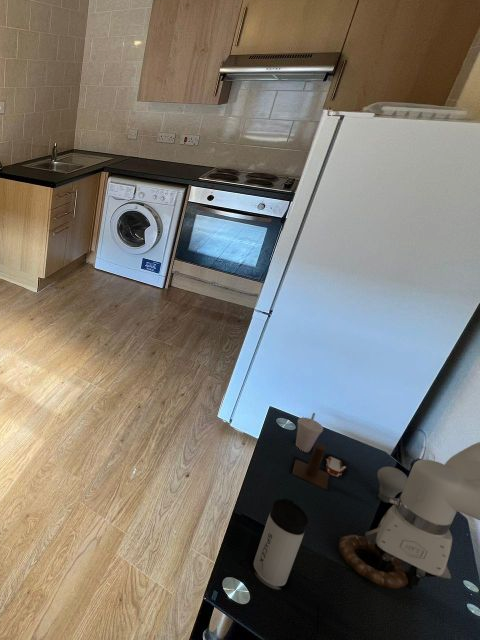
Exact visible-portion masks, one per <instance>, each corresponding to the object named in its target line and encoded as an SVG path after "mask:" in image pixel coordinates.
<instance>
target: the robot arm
mask: <svg viewBox="0 0 480 640" xmlns="http://www.w3.org/2000/svg"><path fill="white" fill-rule="evenodd" d="M407 478H408V480H407V482H406V484H405V487H404V489H403V492H401V494H400V495H399V497H397V498H396V497H394V498H392V497H389V501H388V502H389V503H388V504H392V506H390V508H388V510H387V511H386V512H385V513H384V515H383V516H382V518H381V520H380V522H379V523H378V526H377V527H376V528H374V529H372V530H369V531H365V532H364V537H365V538H366V539H367V540H368V541H369V542H370V543H372V544H373V545H374V546H375V548H376V549H377V550H378V552H379V553H380V554H381V555H382V557H381V559H380V558H379V562H378V567H379V568H380V569H381V571H382V572H390V568H391V565H392V559H391V558H392V557H393V556H395V557H397V558H398V559H399V560H400V561H403V562H405V563H408V564H410V566H409V569H408V570H407V572H408V584H407V585H405V587H407V588H408V589H409V590H412V589H413V587H414V586H416V587H417V586H418V584H419V583H420V580H421V579H425V577H426V578H433V577H434V578H436V577H438V578H443V579H447V580H451V579H452V575H451V570H450V569H449V567H448V561H449V558H450V556H451V555H450V554H451V552H452V551H451V550H452V545H453V534H452V533H451V530H450V528H451V525H452V524H453V521H454V520H455V516H456V514H457V512H459V513H462V514H463V515H466V516H468V517H471V518H473V519H475V520H478V521H480V441H478V442H476V443H473V444H471V445H469V446H468V447H466V448H464V449H462V450H460V451H459V452H457V453H455V454H454V455H452V456H451V457H450V458H449V459H448V460H447V461H445V463H442V462H439V461H435V460H433V459H419V460H416V461H415V462H414V464H412V467H411V470H410V472H409V474H408V476H407Z"/></svg>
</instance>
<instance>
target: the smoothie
mask: <svg viewBox="0 0 480 640" xmlns="http://www.w3.org/2000/svg"><path fill="white" fill-rule="evenodd" d="M315 416H316V413H315V412H312V415H311V417H310V418H309V417H304V416H303V417H298V419H297V430H296V437H295V445H296V446H297V447H298V448H299V449H300V450H299V449H298V448H297V447H296V446H295V447H296V448H297V449H298V450H299V451H301V450H302V451H301V452H303V451H304V453H310V452H311V450H312V448H313V447H314V446H315V444H316V442H317V440H318V438H319V436H320V435H321V434H322V433H323V432H324V426H323V425H322V423H320V422H318V421H317V420H315V419H314V418H315Z"/></svg>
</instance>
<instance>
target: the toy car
mask: <svg viewBox="0 0 480 640" xmlns="http://www.w3.org/2000/svg"><path fill="white" fill-rule="evenodd" d="M324 460H325V463H326V464H325V468H324V469H325V471H326V473H328V474H329V475H331V476H334V477H336V478H339V477H341V476H342V475H343V473H344V471H345V470H346V469H348V467H347V466H346V465H343V461H342V460H340V459H338V458H336V457H334V456H328V458H325V459H324Z"/></svg>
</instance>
